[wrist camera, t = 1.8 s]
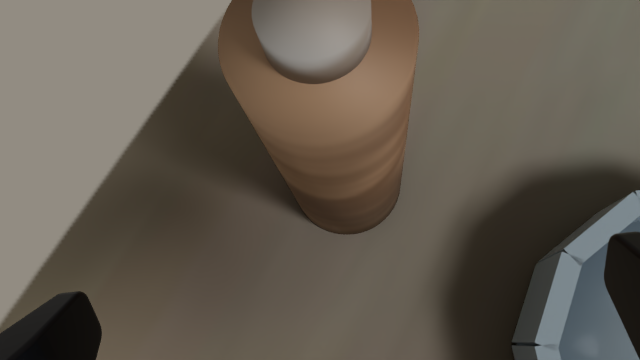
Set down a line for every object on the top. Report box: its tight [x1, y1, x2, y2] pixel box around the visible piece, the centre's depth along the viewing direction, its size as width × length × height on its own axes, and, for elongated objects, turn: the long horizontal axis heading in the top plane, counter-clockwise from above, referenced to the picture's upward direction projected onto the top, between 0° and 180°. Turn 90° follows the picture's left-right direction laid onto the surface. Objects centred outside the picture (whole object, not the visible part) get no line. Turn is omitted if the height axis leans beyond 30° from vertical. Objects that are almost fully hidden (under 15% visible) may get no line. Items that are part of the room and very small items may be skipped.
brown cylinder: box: [218, 0, 419, 234], centre depth 16 cm, size 4×4×12 cm
